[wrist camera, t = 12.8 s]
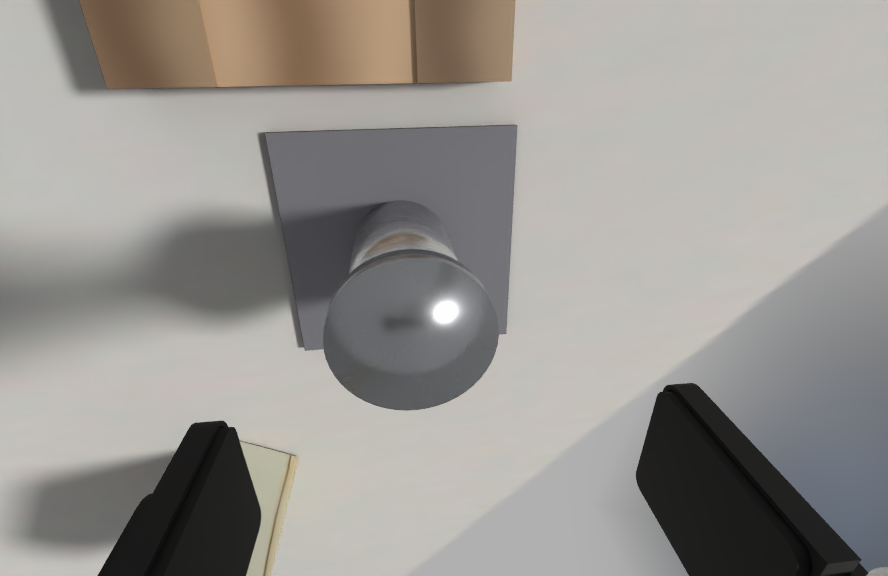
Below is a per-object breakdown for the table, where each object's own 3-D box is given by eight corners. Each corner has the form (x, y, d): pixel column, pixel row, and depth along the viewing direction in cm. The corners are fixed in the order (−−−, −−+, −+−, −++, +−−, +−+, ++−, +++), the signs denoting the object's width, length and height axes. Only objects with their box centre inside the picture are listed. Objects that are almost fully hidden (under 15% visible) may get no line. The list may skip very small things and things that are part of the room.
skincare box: (270, 514, 31) (211, 746, 20) (205, 500, 30) (105, 740, 19) (301, 452, 29) (253, 674, 18) (233, 435, 28) (138, 662, 17)
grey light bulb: (456, 187, 23) (502, 254, 14) (456, 292, 25) (495, 401, 17) (337, 193, 22) (310, 266, 13) (350, 299, 24) (334, 417, 16)
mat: (515, 124, 22) (517, 125, 22) (504, 330, 27) (506, 333, 27) (267, 132, 21) (264, 133, 20) (305, 346, 26) (304, 350, 25)
